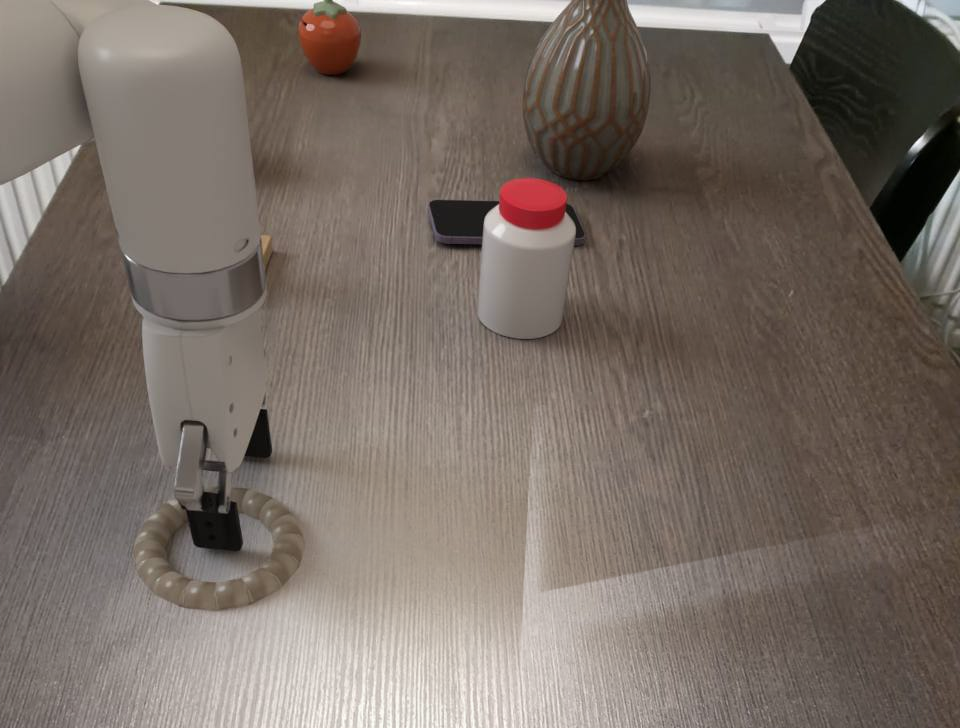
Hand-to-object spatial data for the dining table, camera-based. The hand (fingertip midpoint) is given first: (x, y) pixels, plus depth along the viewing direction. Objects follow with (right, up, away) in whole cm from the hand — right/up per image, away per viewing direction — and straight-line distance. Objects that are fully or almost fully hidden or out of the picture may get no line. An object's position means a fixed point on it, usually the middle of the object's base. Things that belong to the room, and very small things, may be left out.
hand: (235, 498), depth 67 cm
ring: (0, -4, -3) cm, 5 cm away
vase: (+28, +42, +39) cm, 63 cm away
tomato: (-1, +59, +50) cm, 78 cm away
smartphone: (+20, +31, +29) cm, 47 cm away
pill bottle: (+21, +19, +20) cm, 34 cm away
